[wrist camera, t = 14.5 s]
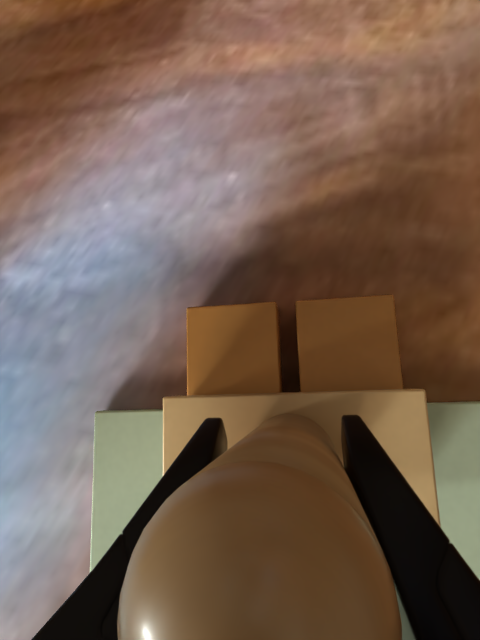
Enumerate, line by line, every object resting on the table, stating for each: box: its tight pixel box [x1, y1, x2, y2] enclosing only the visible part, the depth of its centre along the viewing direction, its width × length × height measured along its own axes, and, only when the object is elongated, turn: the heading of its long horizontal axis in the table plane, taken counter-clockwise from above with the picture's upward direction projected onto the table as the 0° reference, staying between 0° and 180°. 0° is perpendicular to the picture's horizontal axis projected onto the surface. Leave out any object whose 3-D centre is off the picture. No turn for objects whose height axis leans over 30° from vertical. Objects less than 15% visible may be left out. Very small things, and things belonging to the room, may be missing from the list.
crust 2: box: [295, 295, 403, 392], centre depth 17 cm, size 4×4×2 cm
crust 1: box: [187, 302, 283, 395], centre depth 18 cm, size 4×4×2 cm
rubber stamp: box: [117, 389, 441, 640], centre depth 10 cm, size 9×4×14 cm, turn 92°
